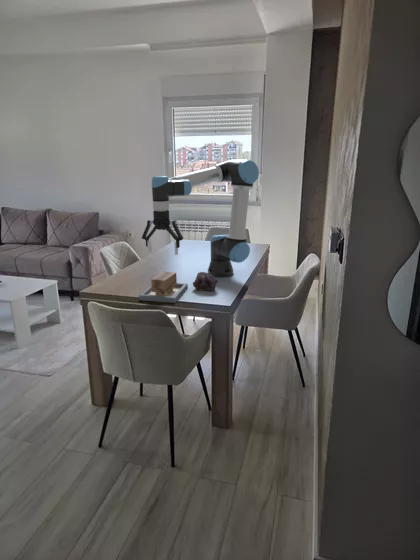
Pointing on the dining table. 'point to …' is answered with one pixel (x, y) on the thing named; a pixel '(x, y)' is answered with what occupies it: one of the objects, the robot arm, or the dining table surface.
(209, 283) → the rock
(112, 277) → the dining table surface
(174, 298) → the grey shallow tray
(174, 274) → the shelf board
